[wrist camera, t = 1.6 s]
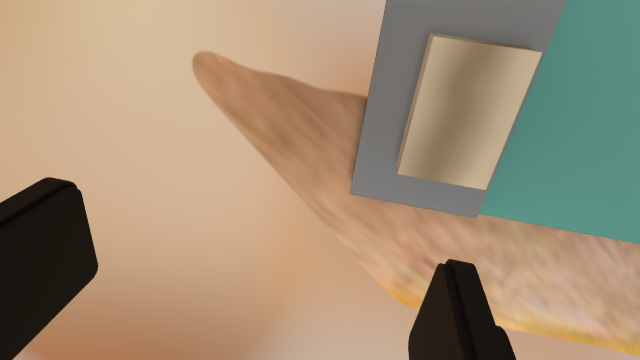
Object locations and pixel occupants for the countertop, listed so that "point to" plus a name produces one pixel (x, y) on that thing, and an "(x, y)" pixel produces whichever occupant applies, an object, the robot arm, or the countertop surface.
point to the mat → (579, 129)
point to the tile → (464, 109)
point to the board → (401, 79)
